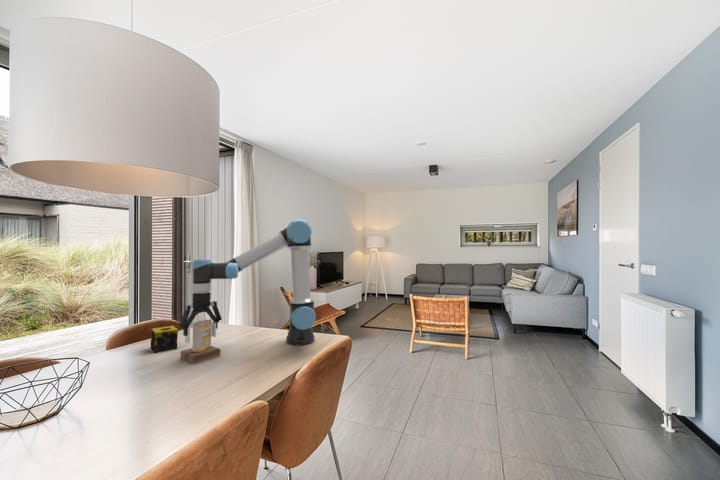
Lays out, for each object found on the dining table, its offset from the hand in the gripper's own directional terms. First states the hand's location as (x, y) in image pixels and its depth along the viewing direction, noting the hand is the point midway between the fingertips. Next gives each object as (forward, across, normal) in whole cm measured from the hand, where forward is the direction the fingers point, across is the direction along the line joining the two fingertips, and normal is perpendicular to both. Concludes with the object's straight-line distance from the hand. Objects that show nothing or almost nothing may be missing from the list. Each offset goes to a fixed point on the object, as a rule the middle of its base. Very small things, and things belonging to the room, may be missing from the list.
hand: (201, 339), depth 143 cm
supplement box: (+5, -1, 0) cm, 5 cm away
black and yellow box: (+8, +4, -27) cm, 29 cm away
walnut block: (+9, 0, 0) cm, 9 cm away
